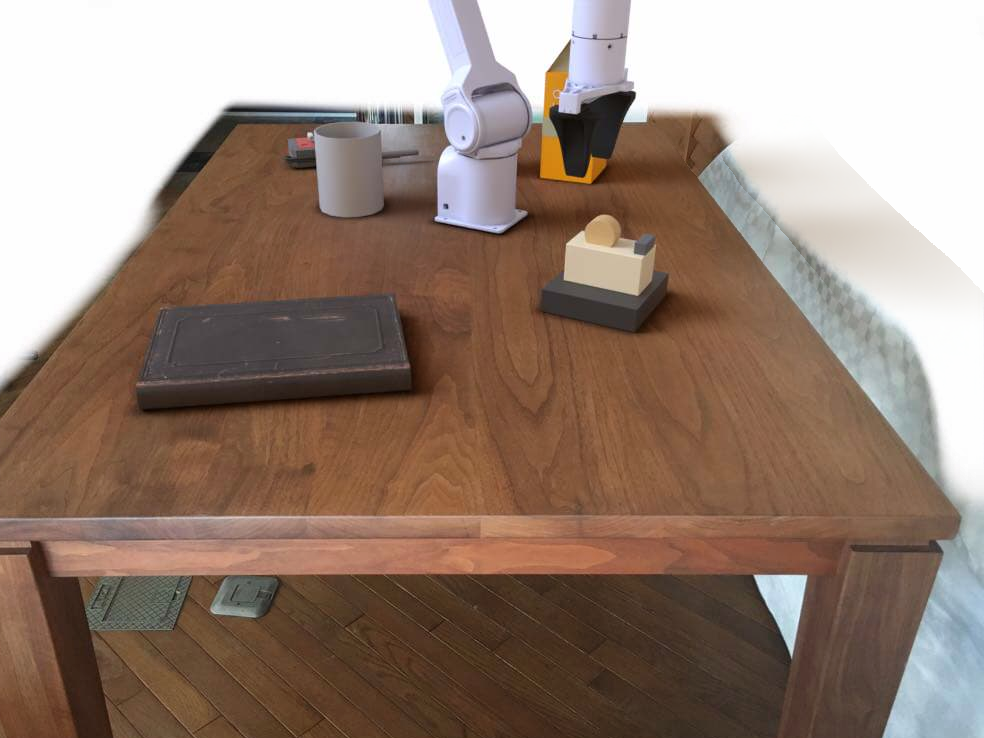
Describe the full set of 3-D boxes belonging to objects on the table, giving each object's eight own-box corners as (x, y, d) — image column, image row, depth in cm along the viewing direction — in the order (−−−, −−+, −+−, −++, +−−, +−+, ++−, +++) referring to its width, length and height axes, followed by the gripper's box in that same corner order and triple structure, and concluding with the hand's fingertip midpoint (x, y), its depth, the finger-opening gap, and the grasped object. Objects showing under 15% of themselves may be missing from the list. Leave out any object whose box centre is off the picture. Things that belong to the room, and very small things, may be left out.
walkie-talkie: (286, 174, 131) (420, 163, 135) (283, 143, 129) (419, 134, 133) (281, 157, 139) (408, 147, 143) (278, 128, 136) (407, 119, 140)
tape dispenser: (563, 280, 92) (567, 218, 89) (579, 266, 96) (583, 206, 92) (638, 296, 89) (645, 232, 86) (651, 281, 92) (659, 219, 89)
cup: (308, 212, 117) (301, 135, 112) (338, 193, 124) (333, 119, 119) (366, 220, 115) (362, 141, 109) (393, 200, 121) (391, 125, 116)
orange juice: (538, 177, 129) (546, 28, 119) (556, 160, 136) (565, 18, 126) (592, 184, 127) (604, 32, 116) (607, 166, 134) (620, 22, 123)
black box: (540, 311, 92) (541, 288, 91) (577, 276, 99) (579, 255, 98) (634, 332, 88) (637, 309, 86) (666, 295, 95) (669, 273, 94)
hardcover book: (164, 328, 89) (160, 307, 88) (395, 313, 92) (395, 292, 90) (139, 413, 76) (134, 389, 74) (411, 393, 78) (411, 370, 77)
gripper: (611, 50, 85) (598, 190, 92) (659, 27, 96) (645, 154, 103) (542, 43, 88) (536, 180, 95) (597, 22, 99) (587, 146, 106)
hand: (588, 166), depth 99 cm, fingers open, 7 cm apart
